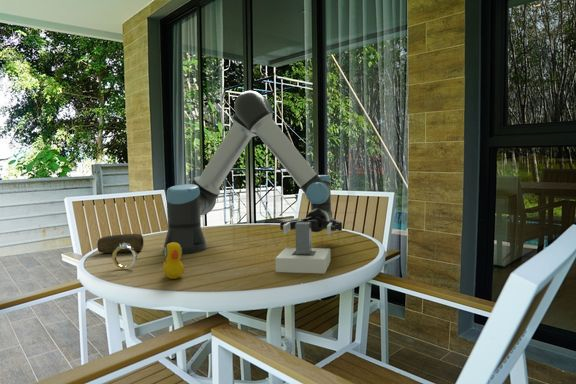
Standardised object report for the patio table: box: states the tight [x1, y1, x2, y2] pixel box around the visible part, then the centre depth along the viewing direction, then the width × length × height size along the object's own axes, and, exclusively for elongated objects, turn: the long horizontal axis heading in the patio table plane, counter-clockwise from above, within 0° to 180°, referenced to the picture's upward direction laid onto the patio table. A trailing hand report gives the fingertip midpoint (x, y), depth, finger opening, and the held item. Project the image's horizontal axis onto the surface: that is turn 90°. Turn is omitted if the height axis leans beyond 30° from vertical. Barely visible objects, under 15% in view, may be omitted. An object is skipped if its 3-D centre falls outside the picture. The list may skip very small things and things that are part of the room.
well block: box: [274, 247, 331, 274], centre depth 121 cm, size 14×14×4 cm
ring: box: [111, 243, 138, 270], centre depth 122 cm, size 7×3×8 cm, turn 83°
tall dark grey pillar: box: [294, 222, 313, 256], centre depth 121 cm, size 4×4×13 cm
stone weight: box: [96, 233, 145, 254], centre depth 147 cm, size 15×7×7 cm, turn 103°
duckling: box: [162, 242, 185, 280], centre depth 112 cm, size 11×5×10 cm, turn 22°
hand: (306, 230), depth 125 cm, fingers open, 13 cm apart
